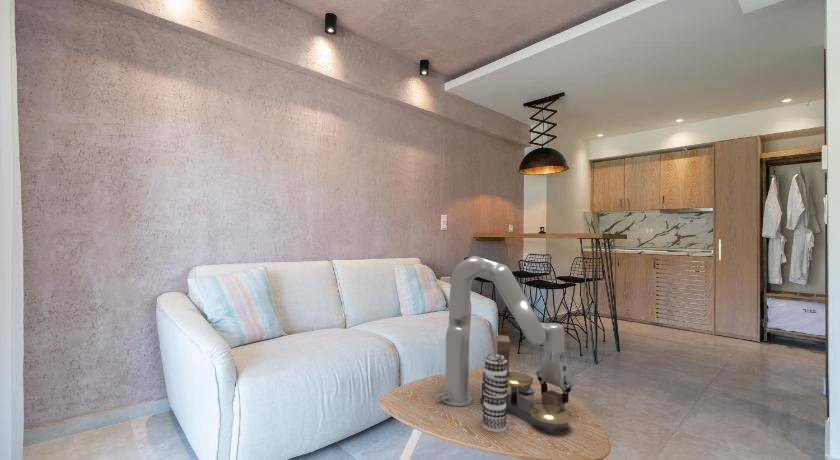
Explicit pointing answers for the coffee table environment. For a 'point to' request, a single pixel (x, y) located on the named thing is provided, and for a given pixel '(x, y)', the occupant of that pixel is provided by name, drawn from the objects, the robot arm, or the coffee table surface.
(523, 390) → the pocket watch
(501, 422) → the decorative candle
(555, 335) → the robot arm
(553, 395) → the walnut block
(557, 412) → the balance
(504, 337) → the decorative block
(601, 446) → the coffee table surface
